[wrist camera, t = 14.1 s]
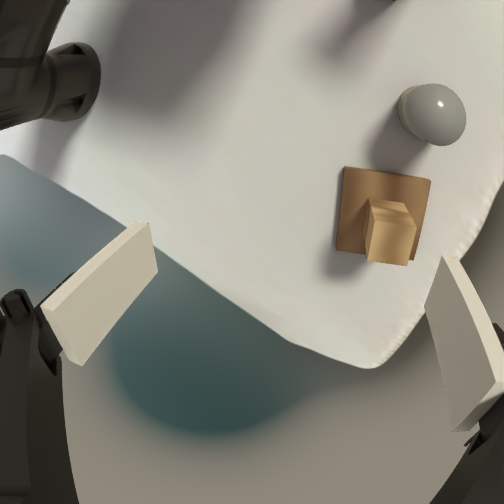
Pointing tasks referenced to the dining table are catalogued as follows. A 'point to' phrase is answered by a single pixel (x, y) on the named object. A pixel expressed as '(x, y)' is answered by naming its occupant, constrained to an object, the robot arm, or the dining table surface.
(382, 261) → the oak block
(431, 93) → the grey dome cap
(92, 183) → the dining table surface
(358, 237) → the walnut board
